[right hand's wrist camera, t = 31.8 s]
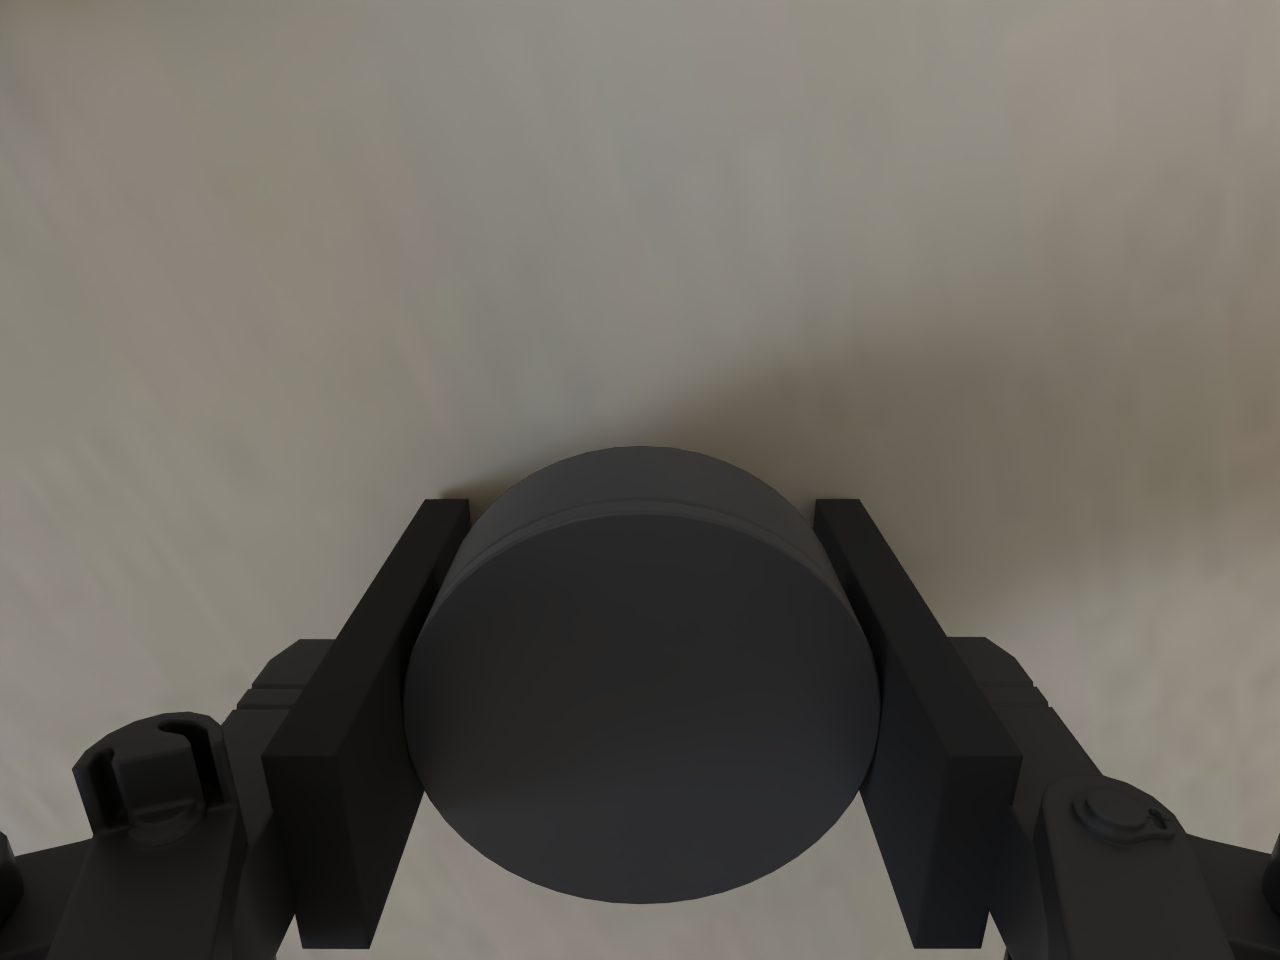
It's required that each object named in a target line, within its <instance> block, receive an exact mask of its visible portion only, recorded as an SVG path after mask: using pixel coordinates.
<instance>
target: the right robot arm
mask: <svg viewBox="0 0 1280 960" xmlns="http://www.w3.org/2000/svg"><path fill="white" fill-rule="evenodd" d="M470 530H471V526H470V515H469V503H468V499H425V501H424V502H423V504H422V505H421V507H420V508H419V510H418V511H417V513H416V515H415V516H414V518H413V519H412V521H411V522H410V524H409V526H408V527H407V529H406V530H405V532H404V533H403V535H402V536H401V538H400V540H399V541H398V543H397V544H396V546H395V547H394V549H393V550H392V552H391V554H390V555H389V557H388V558H387V560H386V561H385V563H384V564H383V566H382V568H381V569H380V571H379V572H378V574H377V575H376V577H375V579H374V580H373V582H372V583H371V585H370V586H369V588H368V589H367V591H366V593H365V594H364V596H363V597H362V599H361V600H360V602H359V603H358V605H357V607H356V608H355V610H354V611H353V613H352V614H351V616H350V617H349V619H348V621H347V622H346V624H345V625H344V627H343V628H342V630H341V632H340V633H339V635H338V636H337V638H336V639H300V640H298V641H297V642H295V643H294V644H292V645H291V646H289V647H288V648H287V649H285V650H284V651H282V652H281V653H279V654H278V655H277V656H275V657H274V658H272V659H271V660H270V661H269V662H268V663H267V665H266V666H265V667H264V669H263V670H262V671H261V673H260V674H259V675H258V677H257V678H256V679H255V681H254V682H253V684H252V689H248V690H247V692H246V693H245V694H244V696H243V697H242V698H241V700H240V701H239V702H238V704H237V709H236V710H232V712H231V713H230V714H229V716H228V717H227V718H226V720H225V721H224V722H223V724H222V725H220V724H218V723H217V722H216V721H215V720H214V719H212V718H211V717H210V716H207V715H203V714H198V713H193V712H178V713H164V714H160V715H156V716H153V717H149V718H145V719H142V720H138V721H135V722H133V723H130V724H128V725H126V726H124V727H122V728H120V729H118V730H116V731H114V732H112V733H109V734H108V735H106V736H105V737H104V738H102V739H101V740H100V741H98V742H97V743H95V744H94V745H93V746H91V747H90V748H89V749H87V750H86V751H85V752H84V754H83V755H82V756H81V758H80V759H79V760H78V762H77V763H76V764H75V766H74V767H73V768H72V771H73V774H74V777H75V780H76V783H77V786H78V789H79V792H80V795H81V798H82V802H83V805H84V808H85V811H86V814H87V817H88V820H89V823H90V826H91V829H92V832H93V837H92V838H91V839H87V840H84V841H81V842H76V843H72V844H68V845H63V846H59V847H54V848H50V849H46V850H41V851H37V852H33V853H28V854H24V855H19V856H15V857H14V854H13V852H12V849H11V846H10V844H9V841H8V838H7V836H6V835H5V834H3V833H2V832H1V831H0V960H276V953H277V951H278V949H279V947H280V945H281V942H282V940H283V938H284V936H285V934H286V932H287V930H288V927H289V925H290V923H291V921H292V919H293V917H294V914H295V916H296V920H297V925H298V930H299V934H300V939H301V943H302V948H303V949H369V948H370V946H371V943H372V940H373V937H374V934H375V931H376V928H377V926H378V923H379V920H380V917H381V914H382V911H383V908H384V905H385V903H386V900H387V897H388V894H389V891H390V888H391V885H392V882H393V880H394V877H395V874H396V871H397V868H398V865H399V862H400V859H401V857H402V854H403V851H404V848H405V845H406V842H407V839H408V837H409V834H410V831H411V828H412V825H413V822H414V819H415V816H416V814H417V811H418V808H419V805H420V802H421V799H422V796H423V793H424V791H425V790H424V788H423V786H422V784H421V783H420V781H419V779H418V777H417V774H416V772H415V769H414V766H413V764H412V761H411V758H410V756H409V753H408V748H407V743H406V738H405V733H404V727H403V711H402V697H403V689H404V680H405V674H406V670H407V667H408V663H409V660H410V656H411V653H412V649H413V647H414V645H415V643H416V641H417V638H418V636H419V634H420V632H421V630H422V628H423V625H424V623H425V621H426V619H427V617H428V614H429V612H430V610H431V608H432V606H433V604H434V601H435V599H436V597H437V595H438V593H439V591H440V588H441V586H442V584H443V582H444V580H445V577H446V575H447V573H448V571H449V569H450V567H451V564H452V562H453V560H454V558H455V556H456V554H457V552H458V549H459V547H460V545H461V543H462V542H463V540H464V539H465V537H466V536H467V534H468V533H469V531H470ZM813 531H814V533H815V534H816V536H817V537H818V539H819V540H820V542H821V544H822V545H823V547H824V549H825V551H826V553H827V556H828V558H829V560H830V562H831V564H832V566H833V568H834V570H835V573H836V575H837V577H838V579H839V581H840V583H841V585H842V587H843V590H844V592H845V594H846V596H847V598H848V600H849V602H850V604H851V607H852V609H853V611H854V613H855V615H856V617H857V619H858V621H859V623H860V626H861V628H862V630H863V632H864V635H865V637H866V639H867V641H868V644H869V646H870V648H871V650H872V653H873V657H874V661H875V664H876V668H877V672H878V676H879V682H880V693H881V703H882V705H881V720H880V731H879V736H878V740H877V745H876V749H875V754H874V757H873V760H872V762H871V765H870V767H869V770H868V772H867V775H866V777H865V780H864V782H863V783H862V785H861V787H860V789H859V791H860V794H861V797H862V800H863V802H864V805H865V808H866V811H867V814H868V817H869V820H870V823H871V826H872V828H873V831H874V834H875V837H876V840H877V843H878V846H879V849H880V851H881V854H882V857H883V860H884V863H885V866H886V869H887V872H888V874H889V877H890V880H891V883H892V886H893V889H894V892H895V895H896V898H897V900H898V903H899V906H900V909H901V912H902V915H903V918H904V921H905V923H906V926H907V929H908V932H909V935H910V938H911V941H912V944H913V946H914V949H981V946H982V942H983V937H984V933H985V928H986V924H987V919H988V915H989V911H990V913H991V915H992V917H993V920H994V922H995V924H996V926H997V928H998V930H999V932H1000V935H1001V937H1002V939H1003V941H1004V943H1005V945H1006V951H1005V955H1004V960H1280V833H1279V836H1278V839H1277V841H1276V844H1275V846H1274V849H1273V852H1272V854H1268V853H1263V852H1259V851H1255V850H1250V849H1246V848H1242V847H1237V846H1233V845H1229V844H1224V843H1220V842H1216V841H1211V840H1207V839H1203V838H1200V837H1196V836H1193V835H1190V834H1186V832H1185V830H1184V829H1183V827H1182V826H1181V824H1180V823H1179V821H1178V820H1177V818H1176V817H1175V815H1174V814H1173V813H1172V812H1171V811H1169V810H1168V809H1167V808H1166V807H1165V806H1163V805H1162V804H1161V803H1160V802H1159V801H1158V800H1156V799H1155V798H1154V797H1153V796H1151V795H1149V794H1147V793H1145V792H1143V791H1141V790H1140V789H1138V788H1136V787H1134V786H1132V785H1130V784H1128V783H1126V782H1123V781H1119V780H1116V779H1113V778H1110V777H1106V776H1103V775H1102V773H1101V772H1100V771H1099V769H1098V768H1097V767H1096V765H1095V764H1094V763H1093V761H1092V760H1091V759H1090V757H1089V756H1088V755H1087V753H1086V752H1085V751H1084V749H1083V748H1082V747H1081V745H1080V744H1079V743H1078V741H1077V740H1076V739H1075V737H1074V736H1073V735H1072V733H1071V732H1070V731H1069V729H1068V728H1067V727H1066V725H1065V724H1064V723H1063V721H1062V720H1061V719H1060V717H1059V716H1058V715H1057V713H1056V712H1055V711H1054V709H1053V708H1052V707H1048V701H1047V700H1046V699H1045V697H1044V696H1043V695H1042V693H1041V692H1040V691H1039V689H1038V688H1037V687H1034V686H1033V681H1032V680H1031V679H1030V677H1029V676H1028V675H1027V673H1026V672H1025V671H1024V669H1023V668H1022V667H1021V665H1020V664H1019V663H1018V661H1017V660H1016V659H1015V657H1013V656H1012V655H1010V654H1009V653H1007V652H1006V651H1004V650H1003V649H1002V648H1000V647H999V646H997V645H996V644H994V643H993V642H991V641H990V640H989V639H987V638H986V637H947V636H946V634H945V633H944V631H943V630H942V628H941V626H940V625H939V623H938V622H937V620H936V619H935V617H934V616H933V614H932V612H931V611H930V609H929V608H928V606H927V605H926V603H925V601H924V600H923V598H922V597H921V595H920V594H919V592H918V591H917V589H916V587H915V586H914V584H913V583H912V581H911V580H910V578H909V577H908V575H907V573H906V572H905V570H904V569H903V567H902V566H901V564H900V562H899V561H898V559H897V558H896V556H895V555H894V553H893V552H892V550H891V548H890V547H889V545H888V544H887V542H886V541H885V539H884V538H883V536H882V534H881V533H880V531H879V530H878V528H877V527H876V525H875V523H874V522H873V520H872V519H871V517H870V516H869V514H868V513H867V511H866V509H865V508H864V506H863V505H862V503H861V502H860V500H859V499H816V506H815V517H814V528H813Z"/></svg>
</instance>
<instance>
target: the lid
mask: <svg viewBox="0 0 1280 960" xmlns="http://www.w3.org/2000/svg"><path fill="white" fill-rule="evenodd" d="M881 705H882V703H881V693H880V682H879V676H878V672H877V668H876V664H875V661H874V657H873V653H872V650H871V648H870V646H869V644H868V641H867V639H866V637H865V635H864V632H863V630H862V628H861V626H860V623H859V621H858V619H857V617H856V615H855V613H854V611H853V609H852V607H851V604H850V602H849V600H848V598H847V596H846V594H845V592H844V590H843V587H842V585H841V583H840V581H839V579H838V577H837V575H836V573H835V570H834V568H833V566H832V564H831V562H830V560H829V558H828V556H827V553H826V551H825V549H824V547H823V545H822V544H821V542H820V540H819V539H818V537H817V536H816V534H815V533H814V531H813V529H812V528H811V526H810V525H809V524H808V522H807V521H806V520H805V519H804V518H803V517H802V516H801V514H800V513H799V512H798V511H797V510H796V509H795V507H794V506H793V505H792V504H790V503H789V502H788V501H787V500H786V499H785V498H784V497H782V496H781V495H780V494H779V493H778V492H777V491H775V490H774V489H773V488H772V487H770V486H769V485H767V484H765V483H764V482H762V481H761V480H759V479H758V478H756V477H755V476H753V475H752V474H750V473H748V472H746V471H744V470H742V469H740V468H737V467H735V466H733V465H731V464H729V463H727V462H724V461H721V460H718V459H715V458H712V457H709V456H706V455H703V454H700V453H695V452H690V451H685V450H680V449H675V448H666V447H651V446H633V447H615V448H609V449H604V450H598V451H593V452H587V453H584V454H580V455H577V456H574V457H571V458H568V459H565V460H561V461H559V462H556V463H554V464H552V465H550V466H548V467H546V468H544V469H541V470H539V471H537V472H535V473H533V474H532V475H530V476H528V477H527V478H525V479H524V480H522V481H521V482H519V483H517V484H516V485H514V486H513V487H511V488H510V489H509V490H508V491H507V492H505V493H504V494H503V495H502V496H501V497H499V498H498V499H497V500H496V501H495V502H494V503H492V504H491V505H490V507H489V508H488V509H487V510H486V511H485V512H484V513H483V514H482V515H481V517H480V518H479V519H478V520H477V521H476V522H475V523H474V525H473V526H472V528H471V530H470V531H469V533H468V534H467V536H466V537H465V539H464V540H463V542H462V543H461V545H460V547H459V549H458V552H457V554H456V556H455V558H454V560H453V562H452V564H451V567H450V569H449V571H448V573H447V575H446V577H445V580H444V582H443V584H442V586H441V588H440V591H439V593H438V595H437V597H436V599H435V601H434V604H433V606H432V608H431V610H430V612H429V614H428V617H427V619H426V621H425V623H424V625H423V628H422V630H421V632H420V634H419V636H418V638H417V641H416V643H415V645H414V647H413V649H412V653H411V656H410V660H409V663H408V667H407V670H406V674H405V680H404V689H403V697H402V711H403V727H404V733H405V738H406V743H407V748H408V753H409V756H410V758H411V761H412V764H413V766H414V769H415V772H416V774H417V777H418V779H419V781H420V783H421V784H422V786H423V788H424V790H425V792H426V794H427V795H428V797H429V799H430V801H431V802H432V803H433V805H434V806H435V807H436V809H437V810H438V811H439V813H440V814H441V815H442V817H443V818H444V819H445V821H446V822H447V823H448V824H449V825H450V826H451V827H452V828H453V829H454V830H455V831H456V832H457V833H458V834H459V835H460V836H461V837H462V838H463V839H464V840H465V841H466V842H468V843H469V844H470V845H471V846H473V847H474V848H475V849H476V850H477V851H479V852H480V853H481V854H482V855H484V856H485V857H487V858H488V859H490V860H491V861H493V862H495V863H496V864H498V865H499V866H501V867H503V868H504V869H506V870H507V871H509V872H511V873H514V874H516V875H518V876H520V877H522V878H524V879H526V880H528V881H530V882H532V883H535V884H538V885H540V886H543V887H546V888H549V889H552V890H554V891H557V892H561V893H565V894H569V895H573V896H577V897H581V898H585V899H591V900H598V901H605V902H611V903H629V904H654V903H671V902H678V901H685V900H692V899H698V898H702V897H706V896H710V895H714V894H718V893H722V892H725V891H728V890H731V889H734V888H737V887H740V886H743V885H745V884H748V883H751V882H753V881H755V880H757V879H759V878H761V877H763V876H765V875H767V874H770V873H772V872H774V871H775V870H777V869H779V868H780V867H782V866H783V865H785V864H787V863H788V862H790V861H792V860H793V859H795V858H796V857H798V856H799V855H800V854H802V853H803V852H804V851H805V850H807V849H808V848H809V847H811V846H812V845H813V844H814V843H816V842H817V841H818V840H819V839H820V838H821V837H822V836H823V835H824V834H825V833H826V832H827V831H828V830H829V829H830V828H831V827H832V826H833V825H834V824H835V823H836V822H837V821H838V819H839V818H840V817H841V815H842V814H843V813H844V811H845V810H846V809H847V808H848V806H849V805H850V804H851V802H852V801H853V799H854V797H855V796H856V794H857V792H858V790H859V789H860V787H861V785H862V783H863V782H864V780H865V777H866V775H867V772H868V770H869V767H870V765H871V762H872V760H873V757H874V754H875V749H876V745H877V740H878V736H879V731H880V720H881Z"/></svg>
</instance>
